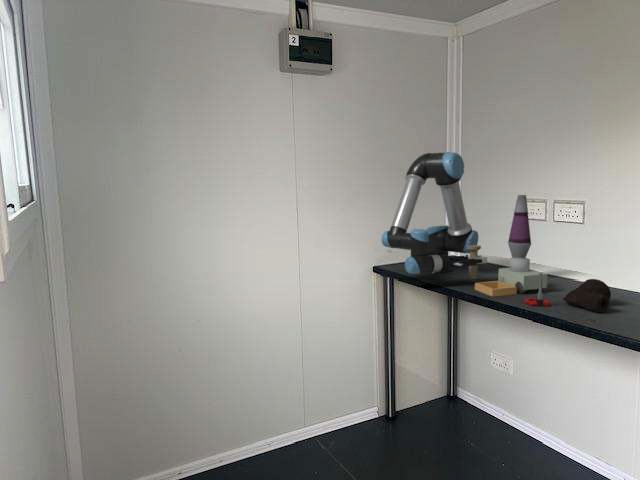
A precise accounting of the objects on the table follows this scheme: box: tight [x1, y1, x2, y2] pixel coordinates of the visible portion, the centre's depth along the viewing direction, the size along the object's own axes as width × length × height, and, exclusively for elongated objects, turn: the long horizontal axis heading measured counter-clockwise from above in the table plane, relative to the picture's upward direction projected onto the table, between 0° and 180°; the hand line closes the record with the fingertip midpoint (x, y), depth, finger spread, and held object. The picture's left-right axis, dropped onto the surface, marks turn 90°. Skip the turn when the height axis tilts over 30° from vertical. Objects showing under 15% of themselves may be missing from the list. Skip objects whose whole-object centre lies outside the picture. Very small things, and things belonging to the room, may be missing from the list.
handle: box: [467, 244, 482, 280], centre depth 212 cm, size 5×6×15 cm
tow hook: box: [524, 272, 550, 307], centre depth 181 cm, size 8×13×9 cm
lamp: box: [507, 194, 532, 258], centre depth 217 cm, size 11×11×40 cm
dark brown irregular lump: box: [563, 278, 612, 313], centre depth 175 cm, size 10×15×15 cm
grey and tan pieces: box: [474, 257, 549, 297], centre depth 200 cm, size 16×26×13 cm, turn 107°
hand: (483, 259), depth 214 cm, fingers closed on handle, 3 cm apart
